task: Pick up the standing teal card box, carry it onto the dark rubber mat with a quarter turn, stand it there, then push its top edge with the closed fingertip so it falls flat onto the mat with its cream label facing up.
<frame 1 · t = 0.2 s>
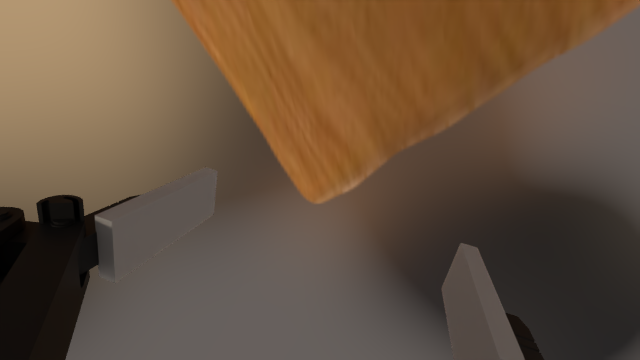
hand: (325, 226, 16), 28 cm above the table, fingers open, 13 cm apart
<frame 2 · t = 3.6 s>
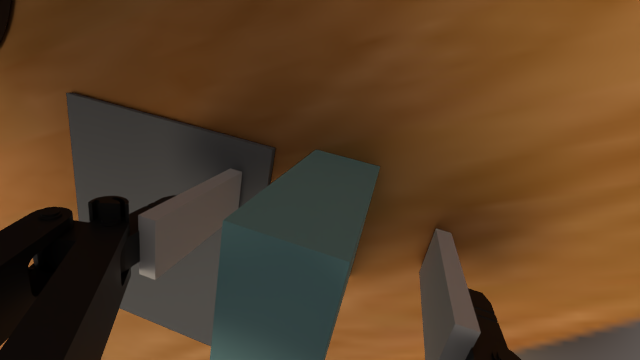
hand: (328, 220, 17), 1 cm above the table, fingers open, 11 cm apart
card box: (333, 216, 17), on the table
mat: (165, 233, 21), on the table
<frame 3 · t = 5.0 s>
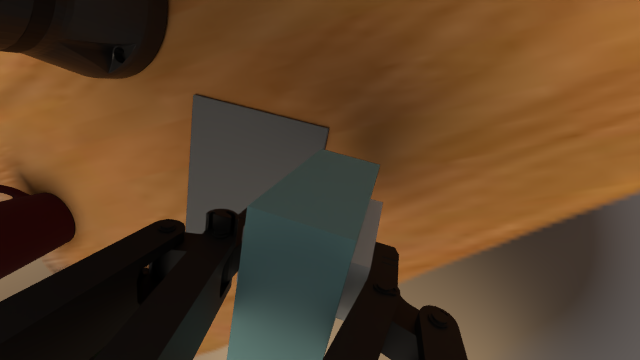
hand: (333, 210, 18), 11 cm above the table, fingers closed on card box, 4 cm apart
card box: (336, 210, 19), point 10 cm above the table, touching gripper
mat: (249, 187, 32), on the table
mug: (48, 208, 42), on the table
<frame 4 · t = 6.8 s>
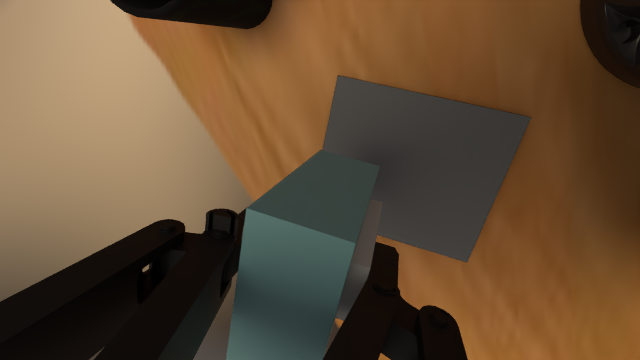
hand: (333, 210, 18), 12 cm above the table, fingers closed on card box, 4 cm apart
card box: (336, 211, 19), point 12 cm above the table, touching gripper
mat: (404, 171, 29), on the table
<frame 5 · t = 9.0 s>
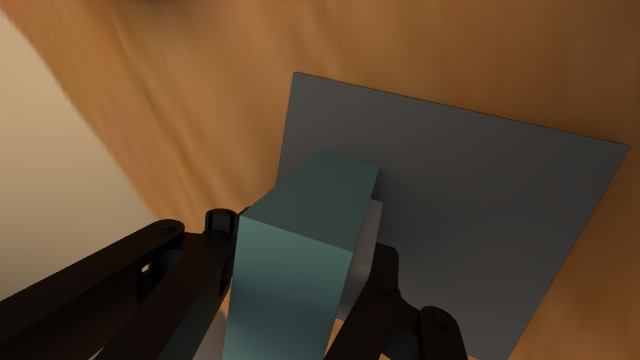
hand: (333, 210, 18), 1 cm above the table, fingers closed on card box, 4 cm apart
card box: (335, 213, 18), resting on mat, touching gripper
mat: (404, 225, 18), on the table
when the fingers open (1 cm above the table, at t = 9.0 s): card box stays where it is, resting on mat.
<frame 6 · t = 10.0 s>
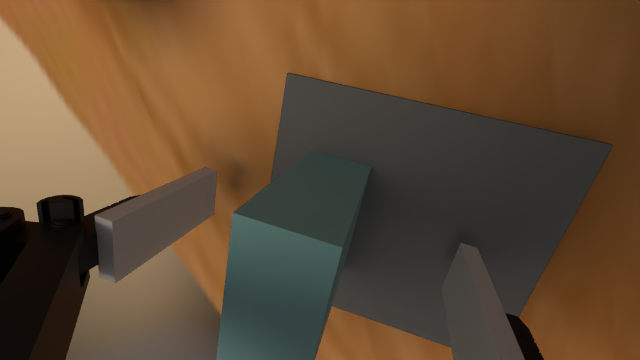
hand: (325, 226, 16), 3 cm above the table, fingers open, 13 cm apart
card box: (328, 212, 19), resting on mat
mat: (396, 223, 18), on the table
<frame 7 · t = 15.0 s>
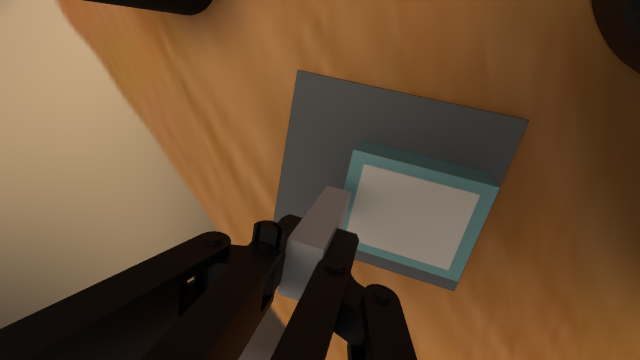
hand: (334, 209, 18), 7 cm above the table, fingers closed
card box: (345, 189, 23), point 2 cm above the table, tilted 90°, touching mat
mat: (379, 184, 24), on the table
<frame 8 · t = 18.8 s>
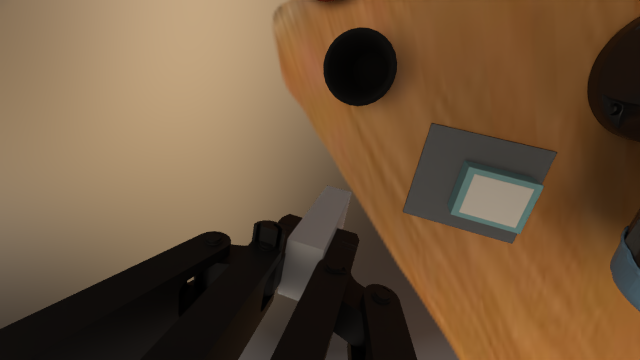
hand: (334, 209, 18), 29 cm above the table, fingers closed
card box: (457, 187, 42), point 2 cm above the table, tilted 90°, touching mat
mat: (472, 184, 44), on the table
cup: (371, 71, 43), on the table
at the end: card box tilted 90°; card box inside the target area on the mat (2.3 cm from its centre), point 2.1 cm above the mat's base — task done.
